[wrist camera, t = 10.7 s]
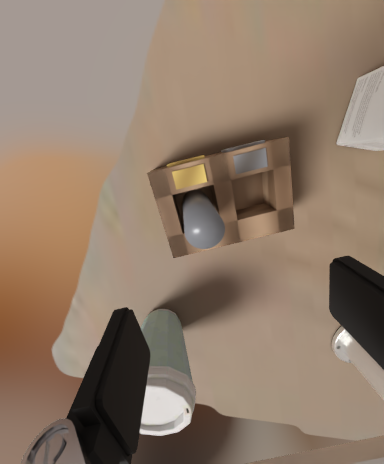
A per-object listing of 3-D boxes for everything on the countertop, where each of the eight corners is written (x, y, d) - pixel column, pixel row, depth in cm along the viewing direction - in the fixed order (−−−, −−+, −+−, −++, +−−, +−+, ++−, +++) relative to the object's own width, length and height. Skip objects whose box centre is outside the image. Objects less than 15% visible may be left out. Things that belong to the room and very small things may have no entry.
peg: (205, 186, 28) (221, 206, 17) (210, 211, 29) (228, 243, 19) (179, 193, 28) (179, 216, 17) (186, 217, 29) (189, 253, 19)
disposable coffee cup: (140, 345, 40) (120, 449, 26) (126, 301, 36) (92, 395, 22) (194, 336, 40) (203, 435, 26) (185, 291, 36) (189, 379, 22)
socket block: (266, 137, 28) (289, 133, 22) (274, 215, 32) (295, 229, 26) (152, 167, 28) (146, 170, 22) (174, 240, 32) (173, 258, 26)
